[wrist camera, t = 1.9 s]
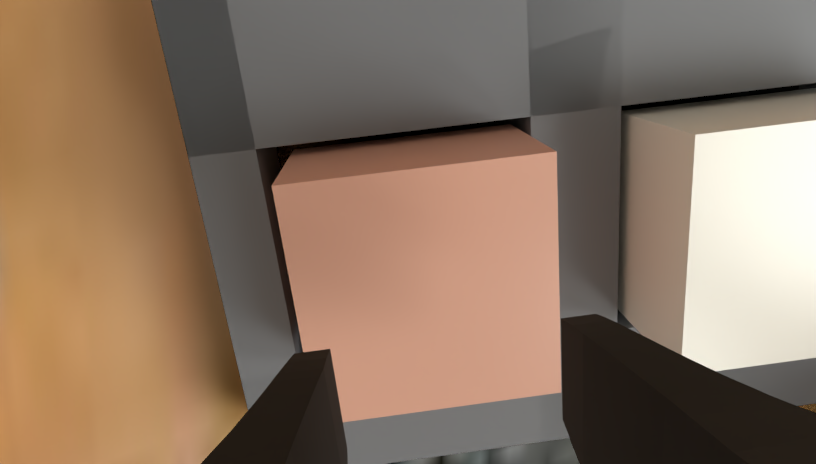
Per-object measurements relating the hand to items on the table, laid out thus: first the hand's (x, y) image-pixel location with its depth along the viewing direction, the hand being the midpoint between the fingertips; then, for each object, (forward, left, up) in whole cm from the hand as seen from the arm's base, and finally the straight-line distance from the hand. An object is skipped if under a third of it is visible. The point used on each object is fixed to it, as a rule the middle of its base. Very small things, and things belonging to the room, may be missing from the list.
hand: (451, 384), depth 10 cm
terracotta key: (0, 0, -7) cm, 7 cm away
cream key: (-9, 0, -7) cm, 12 cm away
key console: (-5, 0, -9) cm, 10 cm away
